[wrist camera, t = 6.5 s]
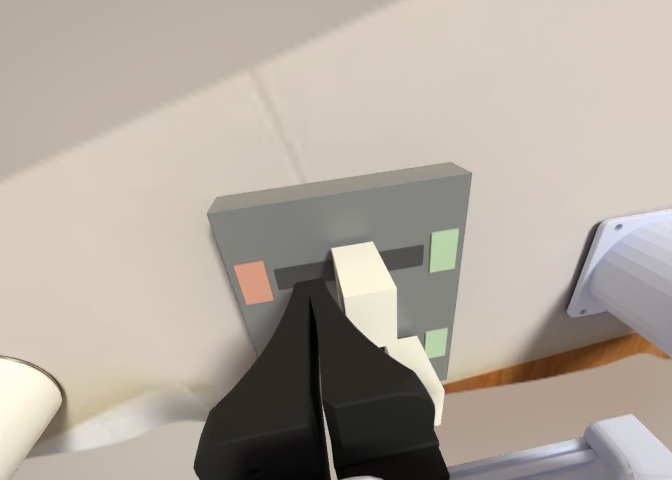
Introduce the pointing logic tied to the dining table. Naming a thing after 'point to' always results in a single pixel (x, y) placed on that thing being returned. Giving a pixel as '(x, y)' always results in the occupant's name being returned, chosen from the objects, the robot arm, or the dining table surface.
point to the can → (23, 410)
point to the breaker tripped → (366, 292)
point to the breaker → (419, 369)
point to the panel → (348, 229)
